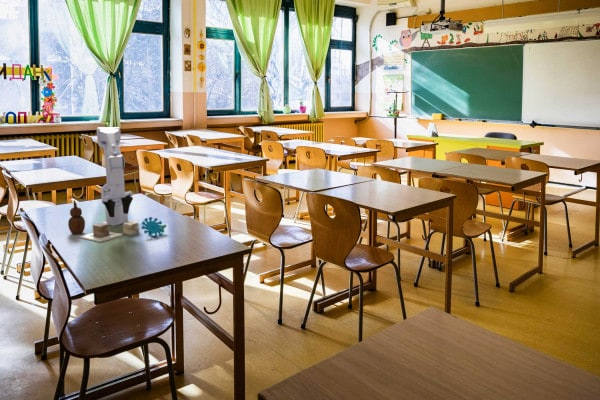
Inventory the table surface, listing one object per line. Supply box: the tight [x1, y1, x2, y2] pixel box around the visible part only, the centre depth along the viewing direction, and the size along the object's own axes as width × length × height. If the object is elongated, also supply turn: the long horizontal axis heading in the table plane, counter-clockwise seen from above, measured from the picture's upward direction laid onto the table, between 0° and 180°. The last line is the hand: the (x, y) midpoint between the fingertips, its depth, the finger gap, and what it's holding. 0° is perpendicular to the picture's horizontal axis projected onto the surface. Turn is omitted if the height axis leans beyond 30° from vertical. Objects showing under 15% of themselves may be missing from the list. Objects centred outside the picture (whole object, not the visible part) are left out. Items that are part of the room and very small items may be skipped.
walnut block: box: [92, 222, 110, 237], centre depth 234 cm, size 4×4×4 cm
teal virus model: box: [141, 216, 167, 239], centre depth 238 cm, size 11×6×10 cm
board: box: [79, 231, 123, 243], centre depth 235 cm, size 12×12×1 cm
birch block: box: [122, 220, 140, 236], centre depth 241 cm, size 4×4×4 cm
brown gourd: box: [67, 200, 86, 235], centre depth 238 cm, size 7×6×15 cm
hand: (118, 215), depth 237 cm, fingers open, 7 cm apart
